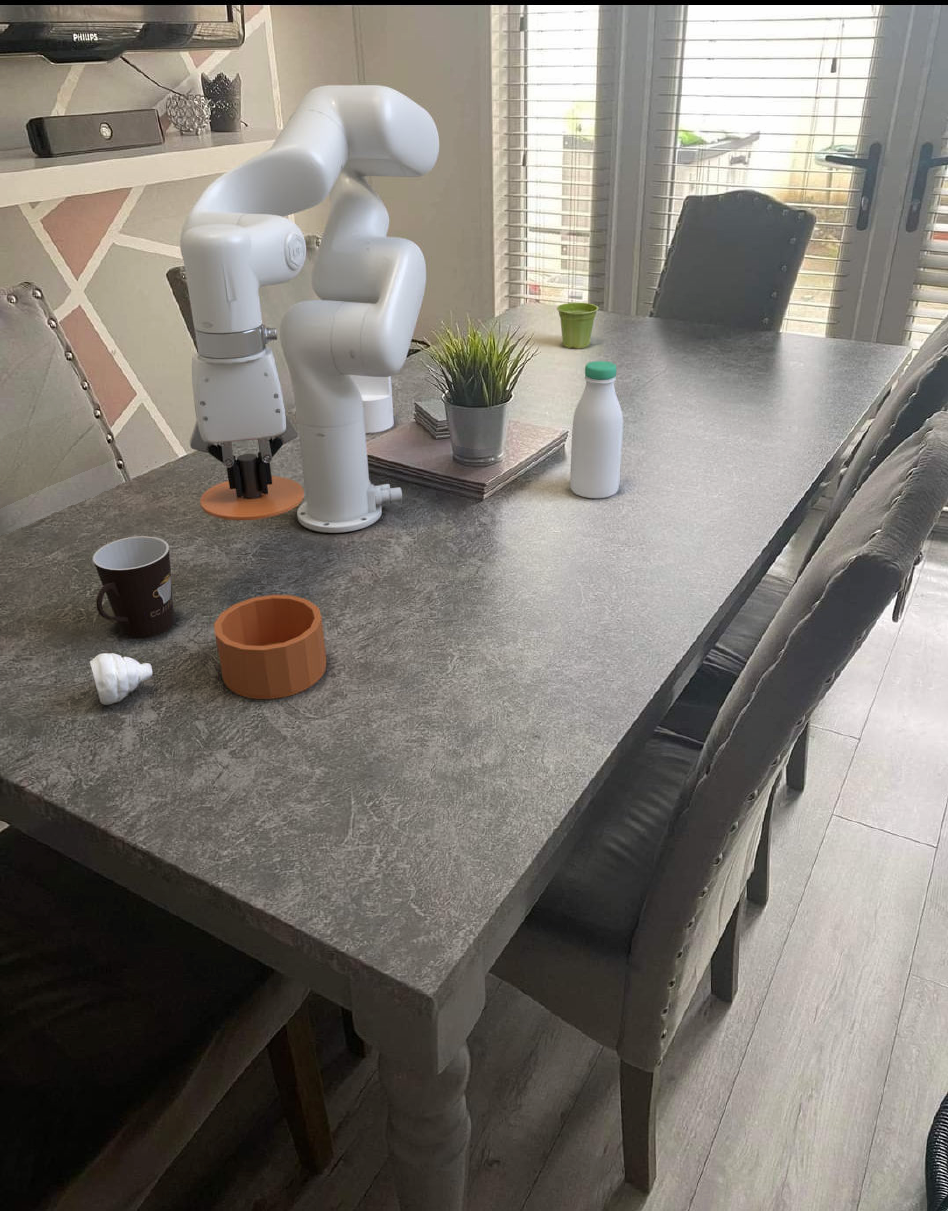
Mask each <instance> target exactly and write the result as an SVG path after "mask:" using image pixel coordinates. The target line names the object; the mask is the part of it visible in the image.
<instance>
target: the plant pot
mask: <svg viewBox="0 0 948 1211" xmlns="http://www.w3.org/2000/svg"><path fill="white" fill-rule="evenodd" d="M556 310H557V311H558V316H559V319H560V329H561V339H562V345H563V346H564V347H565V348H568V349H572V348H574V349H585V348H588V347H589V346H590V344H591V337H592V333H593V332H592V331H593V326H594V320H595V317H596V315H597V312H598V311H599V306H598V305H597V304H594V303H588V302H566V303H562V304H558V305H557V307H556Z"/></svg>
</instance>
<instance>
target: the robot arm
mask: <svg viewBox="0 0 948 1211" xmlns="http://www.w3.org/2000/svg"><path fill="white" fill-rule="evenodd" d="M439 137H440V136H439V132H438V128H437V125H436V123H435V120H434V119H433V117H432V116H431V114H430V113H429V112H428V111H427V110H426V109H425V108H424V107H422V106H421V105H420V104H418V103H417V102H415V101H414V100H413V99H411V98H410V97H408V96H406V95H405V94H404V93H402V92H400V91H398V90H396V89H394V88H392V87H390V86H385V85H381V84H348V85H347V84H330V85H329V84H328V85H320V86H317V87H315V88H312V89H310V90H309V91H308V92H307V93H305V95H304V96H303V97H302V98H301V100H300V101H299V103H298V105H297V106H296V107H295V109H294V111H293V112H292V113H291V115H290V117H289V118H288V120H287V122H286V123H285V125H284V126H283V128H282V129H281V131H280V132H279V134H278V136H277V137H276V139H275V140H274V142H273V144H272V145H271V147H270V148H269V149H267V150H265V151H263V152H261V153H259V154H256V155H255V156H253V157H251V158H249V159H248V160H246V161H244V162H242V163H241V164H239V165H237V166H235V167H233V168H232V169H230V170H227V171H226V172H224V173H223V174H221V175H220V176H218V177H217V178H215V179H214V180H213V181H212V182H211V183H209V184H208V186H206V187H205V188H204V189H203V191H202V192H201V194H200V195H199V196H198V198H197V200H196V201H195V203H194V204H193V206H192V207H191V209H190V210H189V212H188V214H187V216H186V218H185V220H184V223H183V226H182V228H181V233H180V238H179V239H180V240H179V243H180V244H179V245H180V253H181V257H182V260H183V265H184V271H185V272H184V273H185V279H186V283H187V284H186V285H187V290H188V291H187V292H188V297H189V303H190V311H191V317H192V323H193V328H194V329H193V330H194V336H195V341H196V347H197V348H196V349H197V352H195V353H193V354H192V356H191V384H192V393H193V402H194V411H195V419H196V421H195V424H194V427H193V430H192V434H191V436H190V439H189V446H190V448H191V449H192V450H194V451H197V452H202V453H205V454H206V453H207V454H209V455H210V456H212V457H213V458H215V459H216V460H218V461H219V462H220V463H222V464H223V465H224V467H225V468H226V473H227V479H228V480H227V481H229V487H230V489H236V494H237V498H239V497H241V496H243V492H242V485H241V478H240V471H239V466H238V462H237V457H236V455H234V450H233V443H235V442H244V441H254V440H257V445H258V450H259V452H257V459H258V468H259V476H260V483H261V490H262V493H264V494H268V487H267V485H270V484H272V476H273V475H272V468H271V462H272V460H273V458H274V456H275V455H276V454H277V452H278V451H279V450H280V449H281V448H282V447H283V446H284V445H286V444H288V443H290V442H291V441H293V440H294V439H296V438H297V437H298V439H299V448H300V449H299V450H300V457H301V466H302V474H303V483H304V494H305V501H304V502H303V503H302V504H300V505H299V506H298V508H297V511H296V516H297V521H298V522H299V524H300V525H301V526H302V527H304V528H306V529H308V530H309V531H310V530H311V531H314V532H318V533H327V534H341V533H349V532H355V531H359V530H362V529H364V528H367V527H369V526H371V525H373V524H374V523H376V522H377V521H379V519H380V518H381V516H382V513H383V511H382V509H383V508H382V503H383V502H396V501H402V500H403V492H402V488H401V487H400V486H399V487H391V485H390V484H389V483H384V484H379V485H375V484H372V483H371V480H370V476H369V462H368V451H367V450H368V448H367V447H368V446H367V433H365V420H364V406H363V400H362V397H361V394H360V392H359V390H358V388H357V386H356V384H355V382H354V381H353V379H352V378H351V376H350V375H357V376H369V377H389V376H391V377H392V376H394V375H396V374H398V373H399V372H400V371H401V369H402V368H403V366H404V364H405V362H406V359H407V356H408V353H409V351H410V347H411V344H412V339H413V337H414V333H415V329H416V326H417V322H418V317H419V314H420V311H421V308H422V304H423V300H424V297H425V291H426V285H427V266H426V260H425V256H424V254H423V251H422V250H421V247H419V246H418V244H416V243H415V242H414V241H412V240H411V239H408V238H404V237H397V236H387V234H388V231H389V227H390V216H389V213H388V210H387V208H386V206H385V204H384V201H383V200H382V199H381V197H380V196H379V194H378V193H377V192H376V191H375V189H374V188H373V187H372V186H371V185H370V182H369V181H368V178H367V177H393V178H395V177H396V178H420V177H424V176H426V175H427V174H428V173H430V172H431V171H432V170H433V169H434V167H435V165H436V163H437V161H438V157H439V153H440V138H439ZM328 196H329V200H330V207H329V208H330V210H329V213H328V217H327V221H326V224H325V227H324V229H323V234H322V236H321V239H320V242H319V244H318V248H317V251H316V255H315V258H314V261H313V266H312V270H311V286H312V289H313V290H312V291H313V292H314V293H315V295H316V296H317V297H318V298H319V299H307V300H302V301H299V302H296V303H294V304H293V305H291V306H290V307H289V308H287V310H286V311H285V312H284V313H283V315H282V318H281V320H280V324H279V339H280V346H281V349H282V352H283V356H284V359H285V362H286V365H287V369H288V372H289V376H290V379H291V384H292V385H291V386H292V390H293V397H294V405H295V414H296V420H297V421H296V422H297V429H298V430H297V429H296V426H295V425H294V424H293V422H292V420H291V419H290V417H289V416H288V414H287V413H286V410H285V403H284V396H283V392H282V386H281V382H280V376H279V372H278V368H277V362H276V359H275V356H274V354H273V350H272V348H271V347H269V346H267V345H268V343H269V342H271V341H277V340H278V334H277V328H276V327H269V326H267V327H266V325H265V324H263V318H262V317H263V316H262V310H261V300H260V292H259V288H261V287H267V286H275V285H281V284H285V283H288V282H290V281H292V280H293V279H294V278H296V277H297V276H298V275H299V273H300V272H301V271H302V268H303V266H304V264H305V261H306V256H307V244H306V243H307V242H306V239H305V236H304V234H303V232H302V231H301V230H302V229H301V228H300V227H299V226H298V225H297V224H296V223H295V222H294V221H293V220H291V219H289V218H287V217H286V216H290V215H294V214H297V213H298V214H299V213H301V212H303V211H306V210H308V209H312V208H314V207H316V206H319V205H320V204H322V203H323V202H324V201H325V200H326V199H327V197H328Z"/></svg>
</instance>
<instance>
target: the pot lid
mask: <svg viewBox="0 0 948 1211" xmlns="http://www.w3.org/2000/svg"><path fill="white" fill-rule="evenodd" d="M257 457H258V454H254V453H243V454H240V455H238V456H237V457H236V460H237V462H238V466H239V471H240V478H241V485H242V492H243V496H241V497H239V498H237V494H236V489H230V487H229V481H228V480H226V481H225V480H224V481H222V482H220V483H218V484H215V485H213V486H211V487H210V488H208V489H206V490H205V491H204V492H203V494H202V495H201V496H200V499H199V504H200V508H201V510H202V511H203V512H204V513H205V514H207V515H209V516H211V517H213V518H216V519H222V520H228V521H255V520H263V519H269V518H272V517H276V516H279V515H283V514H285V513H287V512H289V511H291V510H293V509H295V508H296V507H299V506H300V505H301V503H302V502H303V500H304V498H305V488H304V487H303V486H302V484H300V483H299V482H297V481H295V480H293V479H291V478H287V477H283V476H277V475H276V476H275V475H271V476H272V484H270V485H267V487H268V494H264V493H262V490H261V483H260V476H259V468H258V459H257Z"/></svg>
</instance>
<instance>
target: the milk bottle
mask: <svg viewBox="0 0 948 1211" xmlns="http://www.w3.org/2000/svg"><path fill="white" fill-rule="evenodd" d="M584 368H585V369H584V380H585V387H584V389H583V393H582V395H581V397H580V399H579V401H578V403H577V405H576V407H575V410H574V414H573V419H572V430H571V447H570V449H571V450H570V473H569V474H570V475H569V488H570V489H571V492H573V494H575V495H577V496H580V497H583V498H589V499H603V498H605V499H606V498H609V497H612V496H614V495H616V493H617V492H618V491H619V488H620V479H621V464H622V452H623V451H622V450H623V435H624V434H623V430H624V417H623V411H622V407H621V404H620V402H619V399H618V396H617V393H616V389H615V381H616V380H617V378H616V376H617V365H616V364H615V363H613V362H611V361H605V360H596V361H591V362H588V363H586V365H585V366H584Z"/></svg>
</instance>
